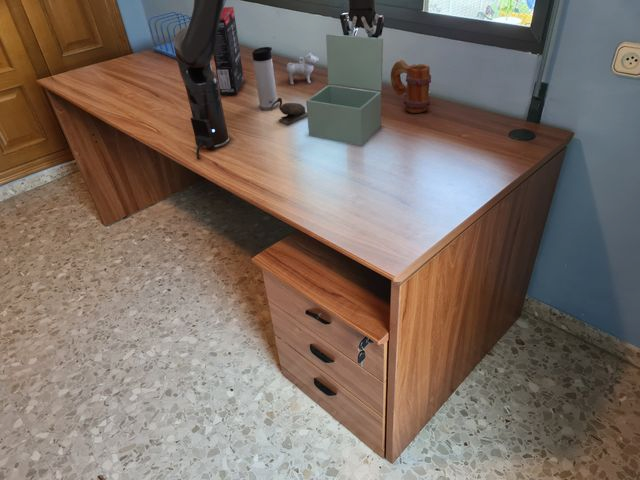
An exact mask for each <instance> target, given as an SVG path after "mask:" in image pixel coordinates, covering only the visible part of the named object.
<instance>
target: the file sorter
mask: <svg viewBox="0 0 640 480" xmlns="http://www.w3.org/2000/svg"><path fill="white" fill-rule="evenodd" d="M154 18H156V19H155V20H154V22H153V23H154V29H155V30H154V31H155V33H156V36H157V40H158V44H159V45H157V44H156V41H155V38H154V33H153V31H152V26H151V20H152V19H154ZM166 18H167V19H166ZM162 19H163V20H162ZM159 20H161V22H160V24H159V25H160V26H159V27H160V31H161V35H162V38H163V42H164V43H163V44H161V40H160V37H159V33H158V29H157V22H158V21H159ZM190 20H191V16H189V15H187V14H183V13H182V12H181V13H180V12H176V11H169V12H165V13H161V14H157V15H153V16H151V17H149V19H148V27H149V30H150V35H151V39H152V41H153V44H154V46H153V51H154V52H157V53H159V54H162V55H164V56H167V57H169V58H173V59H175V60H177V58H176V54H175V49H174V40H173V41H172V39H171V34H170V30H169V26H170V25H171V24H173V23H175V24H174V25H173V27H172V32H173V37H174V38H175V36H176V31H175V29H176V27H177V26H179V30H181V29H182V25H183V24H184V28H185V27H188V25H187V23H190ZM167 21H169V22H168V23H167V25H166V32H167V37H168V40H169V42H166V38H165V34H164V31H163V24H164V23H165V22H167Z"/></svg>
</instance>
